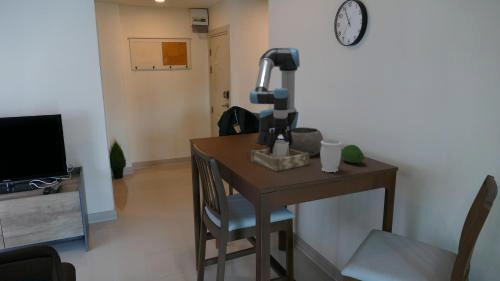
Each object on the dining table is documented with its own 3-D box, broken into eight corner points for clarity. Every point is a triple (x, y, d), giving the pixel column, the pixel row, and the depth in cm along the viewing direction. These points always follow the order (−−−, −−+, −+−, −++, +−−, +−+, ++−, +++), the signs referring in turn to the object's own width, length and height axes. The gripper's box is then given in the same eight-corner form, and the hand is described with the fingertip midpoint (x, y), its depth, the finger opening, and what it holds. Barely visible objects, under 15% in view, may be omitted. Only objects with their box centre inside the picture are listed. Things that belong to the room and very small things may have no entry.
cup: (287, 164, 184) (288, 144, 182) (269, 163, 186) (269, 143, 184) (289, 159, 194) (289, 140, 191) (271, 158, 196) (272, 139, 193)
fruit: (368, 166, 185) (369, 148, 183) (351, 167, 182) (353, 149, 180) (352, 159, 199) (354, 142, 197) (337, 160, 197) (338, 143, 195)
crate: (282, 155, 206) (282, 145, 204) (309, 164, 187) (309, 153, 186) (250, 161, 193) (250, 150, 192) (275, 171, 175) (276, 159, 173)
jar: (317, 167, 182) (318, 139, 178) (336, 167, 182) (337, 139, 179) (322, 173, 171) (324, 144, 168) (343, 173, 172) (344, 144, 169)
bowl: (280, 150, 220) (280, 126, 217) (313, 148, 225) (314, 125, 222) (291, 159, 198) (292, 133, 195) (328, 157, 203) (330, 132, 200)
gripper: (291, 115, 194) (290, 153, 199) (259, 118, 182) (259, 159, 187) (300, 116, 188) (299, 156, 192) (268, 120, 176) (267, 162, 180)
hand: (279, 157), depth 190 cm, fingers closed on cup, 9 cm apart
